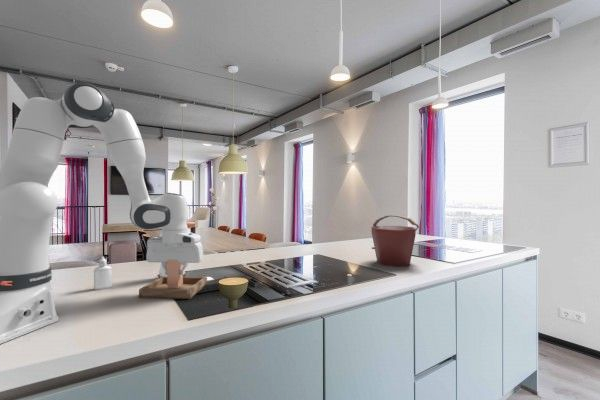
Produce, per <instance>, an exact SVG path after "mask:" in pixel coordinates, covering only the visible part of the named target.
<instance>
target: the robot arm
mask: <svg viewBox="0 0 600 400" xmlns="http://www.w3.org/2000/svg"><path fill="white" fill-rule="evenodd" d="M91 127H95V128H96V129H97V130H99V132H100V133H101V136H102V137H103V141H104V143H105V144H104V145H105V146H106V150H107V152H108V155H109V156H110V159H111V161H112V162H113V164H114V166H115V168H116V170H117V171H118V172H119V174H120V175H121V177H122V179H123V181H124V184H125V186H126V187H125V188H126V189H127V193H128V196H129V197H128V198H129V200H130V211H129V219H130V221H131V223H132V224H133V225H134V226H135V227H137V228H139V229H140V230H141V229H142V230H145V231H151V230H156V229H158V228H161V233H162V237H160V236H151V237H150V238H148V239H147V241H146V247H147V249H146V254H145V255H146V257H145V258H146V261H147V262H148V263H159V264H161V263H162V267H163V268H164V270H165V275H167V260H178V263H182V266H183V268H182V269H181V270H179V275H183V276H184V275H185V274H186V268H188V265H189V264H199V263H201V262H202V261H203V260H204V249H203V244H202V242H201V240H202V237H201V235H200V234H197V233H193V232H191V231H189V229H188V227H189V226H188V223H187V222H188V221H187V220H188V218H189V216H188V215H189V214H188V211H189V210H188V201H187V198H186V197H185V195H182V194H178V193H172V192H164V193H163V194H162V195H160V196H158V197H156V198H154V199H151V198H150V195H149V192H148V188H147V186H146V182H145V177H144V169H145V164H146V159H147V155H146V148H145V144H144V141H143V138H142V134H141V132H140V129H139V127H138V125H137V123H136V120H135V118H134V117H133V115H132V114H131V113H130V112H129V111H127V110H125V109H121V108H115V104H114V103H113V102H112V101H111V100H110V99H109V98H108V96H107V95H106V94H105V93H104V92H103V90H102V89H100V88H99V87H98V86H97V85H96V84H92V83H90V82H85V81H83V82H76V83H74V84H71V85H70V86H68V87H67V88H66V90H65V92H64V93H63V95H62V96H61V97H60V98H58V99H50V98H47V97H43V96H42V97H41V96H39V97H38V96H36V97H30V98H28V99H27V100H26V101H25V102H24V104H23V105H22V107H21V109H20V111H19V114H18V115H17V118H16V121H15V124H14V127H13V129H12V130H13V131H12V134H11V138H10V141H9V144H8V145H9V146H8V148H7V152H6V156H5V159H4V160H3V163H2V166H1V168H0V345H1V344H4V343H6V342H8V341H11V340H13V339H17V338H19V337H21V336H23V335H26V334H29V333H31V332H34V331H36V330H39V329H41V328H44V327H46V326H49V325H51V324H54V323H57V322H58V321H59V316H58V312H57V310H56V306H55V300H54V292H53V290H52V289H53V288H52V286H51V281H52V280H53V279H52V278H53V277H52V275H53V273H52V267H50V239H51V233H52V228H53V224H54V223H53V222H54V218H55V217H54V216H55V212H56V210H57V208H58V206H59V205H58V204H59V201H58V195H56V193H55V191H53V190H52V189H51V188H50V187H48V185H49V182H50V180H51V178H52V177H53V175H54V173H55V171H57V168H58V167H59V163H60V162H59V161H60V157H61V153H62V150H63V145H64V141H65V137H66V136H65V135H66V132H67V130H68V128H70V129H72V128H73V129H74V128H75V129H88V128H91Z"/></svg>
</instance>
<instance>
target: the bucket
mask: <svg viewBox="0 0 600 400" xmlns="http://www.w3.org/2000/svg"><path fill="white" fill-rule="evenodd" d="M389 217H390V218H391V217H396V218H400V219H403V220H407V222H409V224H411V225H412V226H405V225H378V224H379V222H380V221H382V220H384V219H386V218H389ZM414 226H415V227H414ZM419 228H420V226H419V224H418V223H416V222H415V221H414V220H413V218H410V217H407V216H403V215H398V214H397V215H394V214H391V215H385V216H383V217H379V218H378V219H376V220H375V221H374V223H372V226H371V237H372V243H373V246H374V247H373V248H374V252H375V258H376V262H377V263H379V264H380V265H382V266H388V267H395V268H398V267H411V266H410V265H411V262H412V261H411V259H412V255H413V250H414V244H415V240H416V231H417V230H418V229H419Z"/></svg>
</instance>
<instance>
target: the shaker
mask: <svg viewBox="0 0 600 400" xmlns="http://www.w3.org/2000/svg"><path fill="white" fill-rule="evenodd" d="M182 268H183V266H182V263H178V260H167V287H179V286H181V285H182V284H183V277H184V275H179V270H181V269H182Z"/></svg>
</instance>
